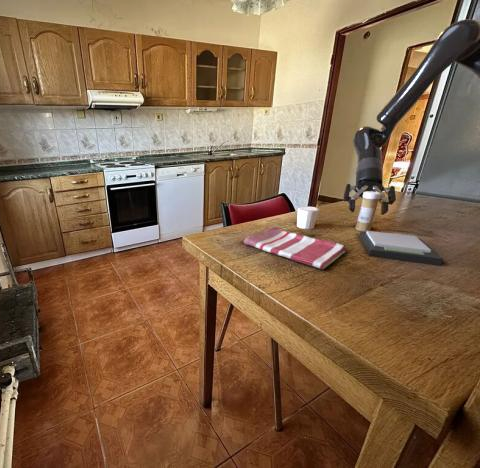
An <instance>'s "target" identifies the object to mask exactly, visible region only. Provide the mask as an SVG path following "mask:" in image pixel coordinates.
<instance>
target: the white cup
mask: <svg viewBox="0 0 480 468" xmlns="http://www.w3.org/2000/svg"><path fill="white" fill-rule="evenodd" d="M319 212H320V209H319V208H318V207H315V206H307V205H302V206H298V207H297V217H296V219H297V220H296V226H297V228H299V229H303V230H313V229H314V228H315V225H316V223H317V219H318V216H319Z"/></svg>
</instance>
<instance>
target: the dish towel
mask: <svg viewBox="0 0 480 468" xmlns="http://www.w3.org/2000/svg"><path fill="white" fill-rule="evenodd" d="M243 244H244V245H246V246H250V247H252V248H256V249H259V250H261V251H264V252H267V253H270V254H273V255H276V256H280V257H284V258H287V259H289V260H292V261H295V262H297V263H301V264H304V265H307V266H310V267H314V268H317V269H320V270H324V269H325V268H327V267H329V266H330V265H331V264H332V263H334V262H335V261H336V260H338V259H339V258H340V257H341V256H342V255H343V254H345V253H346V246H345V245H344V244H341V243H337V242H334V241H331V240H326V239H321V238H313V237H310V236H307V235H304V234H300V233H294V232H289V231H285V230H282V229H279V228H278V227H276V226H274V225H273V226H271V227H269V228H267V229H266V230H263V231H261V232H258V233H254V234H251V235H249V236H247V237H246V238H245V239H244V240H243Z"/></svg>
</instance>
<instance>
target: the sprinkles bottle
mask: <svg viewBox="0 0 480 468" xmlns="http://www.w3.org/2000/svg"><path fill="white" fill-rule="evenodd" d="M380 195H381V193H379V192H373V191H366V192H364V194H363V198H362V200H361V204H360V208H359V212H358V216H357V219H356V220H357V222H356V225H355V227H354V228H355V230H356V231H359V232H367V231H372V226H373V222H374V220H375V216H376V211H377V207H378V203H379V202H378V200H379V199H380Z"/></svg>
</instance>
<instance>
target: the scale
mask: <svg viewBox="0 0 480 468" xmlns="http://www.w3.org/2000/svg"><path fill="white" fill-rule="evenodd" d="M358 239H359V242H361V244H362V246H363V248H364V250H365V251H366V253H367V255H368V257H373V258H374V257H375V258H381V259H388V260H396V261H402V262H410V263H417V264H425V265H432V266H440V267H441V265H442V263H443V260H444V258H443V257H442V256H441V255H440V254H438V253H437V252H436V251H435V250H434V249H433V248H432V247H431V246H430V245H429V244H427V243H426V242H425V241H424V240H423V239H422V238H420V237H418V236H417V235H412V234H411V235H410V234H400V233H391V232H379V231H373V230H371V231H367V232H362V231H359V235H358Z"/></svg>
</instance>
